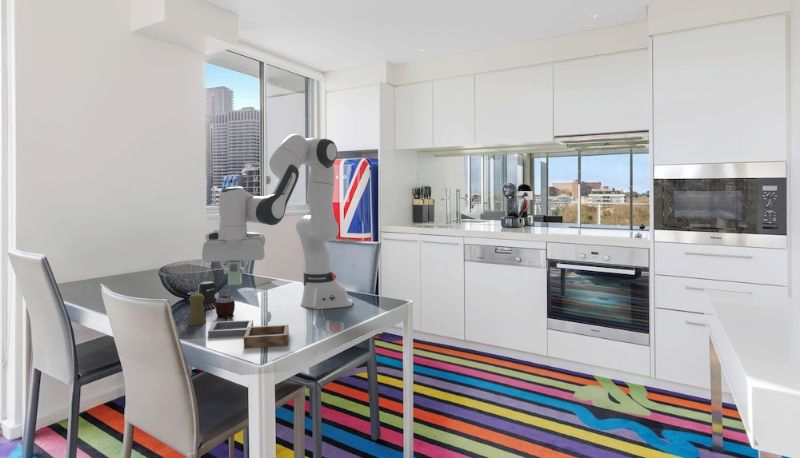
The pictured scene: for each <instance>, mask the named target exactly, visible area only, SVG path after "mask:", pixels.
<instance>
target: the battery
mask: <svg viewBox="0 0 800 458" xmlns="http://www.w3.org/2000/svg"><path fill="white" fill-rule="evenodd" d="M197 294H202V295H203V296H204V301H203V307H204V312H205V311H208V310H213V309H216V307H215V303H216V300H215V299H216V298H215V297H216V296H215V295H216V294H217V285H216V283H215V282H213V281H204V282H200V283H199V284H198V285H197Z"/></svg>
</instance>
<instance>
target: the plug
mask: <svg viewBox="0 0 800 458" xmlns="http://www.w3.org/2000/svg"><path fill="white" fill-rule="evenodd" d="M226 262H227V268H228V274H227V285H228V286H229V285H231V286H241V284H242V283H243V280H242V276H243V275H242V274H243V273H240V272H241V271H240V269H241V268H242V261H226Z"/></svg>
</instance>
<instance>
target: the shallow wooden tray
mask: <svg viewBox="0 0 800 458" xmlns="http://www.w3.org/2000/svg"><path fill="white" fill-rule="evenodd" d="M246 328H247V327H246ZM289 329H290V328H289V324H278V325H277V324H276V325H261V326H260V325H258V326H257V325H256V326H255V325H253V327H248V328H247V330H246V333H245V335H244V336H243V349H252V348H253V349H254V348H269V347H271V348H272V347H286V346H288V344H289V335H290V333H289V331H290V330H289Z"/></svg>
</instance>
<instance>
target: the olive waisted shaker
mask: <svg viewBox="0 0 800 458" xmlns="http://www.w3.org/2000/svg"><path fill="white" fill-rule="evenodd" d="M188 301H189V303H190V308H189V315H188V316H189V318H188V326H192V327H193V326H201V325H204V324H206V323H207V319H206V314H205V311H204V307H203V301H204V296H203V295H202V294H198V293H193V294H191V295H190V296H189V297H188Z"/></svg>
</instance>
